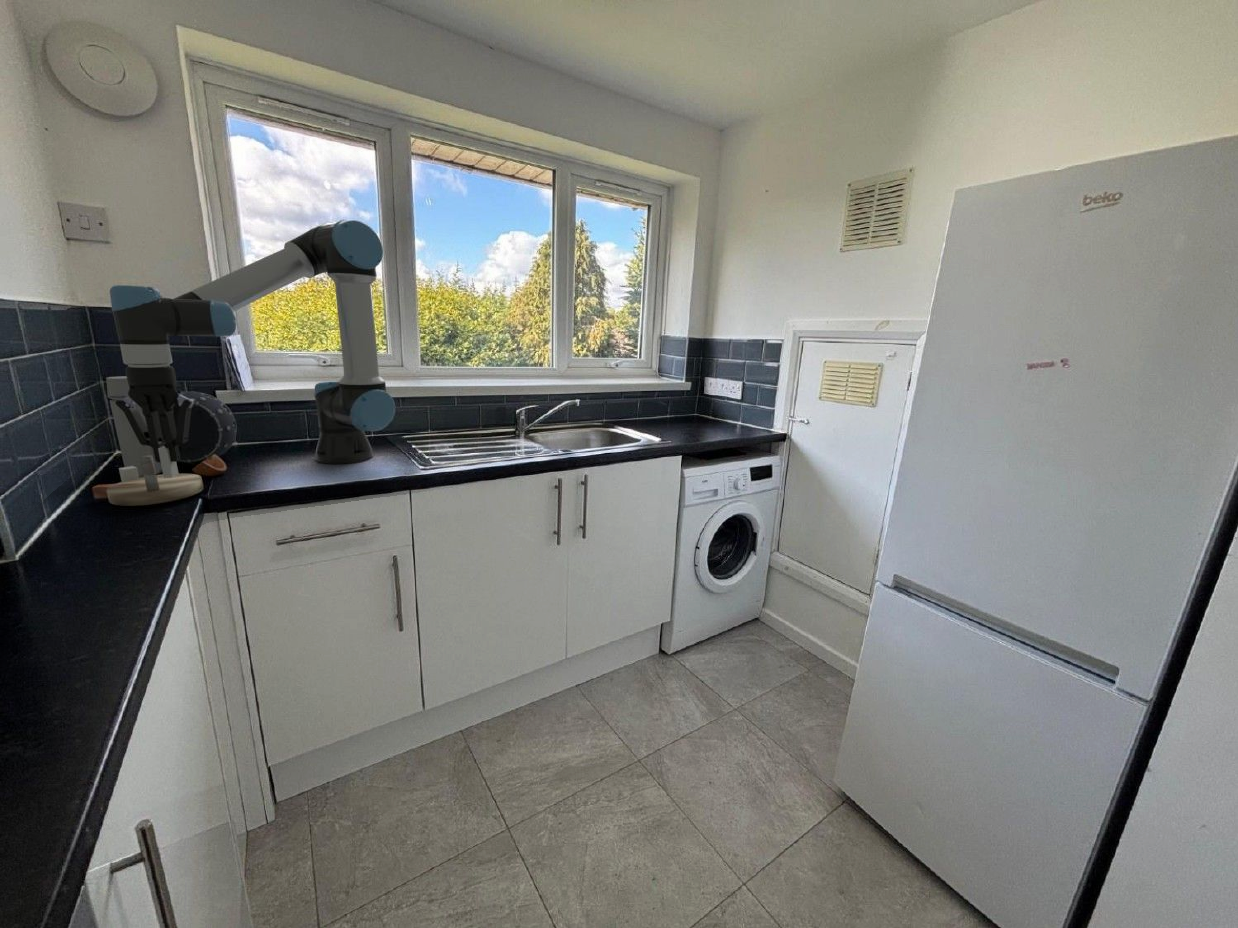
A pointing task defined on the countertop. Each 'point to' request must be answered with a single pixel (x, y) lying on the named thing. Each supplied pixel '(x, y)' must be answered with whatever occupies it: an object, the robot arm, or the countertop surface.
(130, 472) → the grey rectangular block
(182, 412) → the robot arm
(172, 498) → the beige round piece
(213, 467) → the fruit slice
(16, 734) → the countertop surface
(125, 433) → the water bottle
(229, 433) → the grey dotted bowl
